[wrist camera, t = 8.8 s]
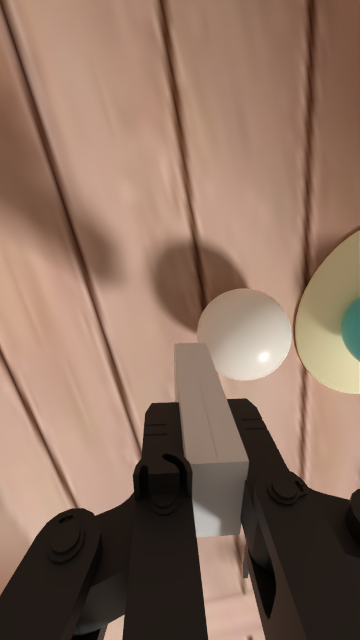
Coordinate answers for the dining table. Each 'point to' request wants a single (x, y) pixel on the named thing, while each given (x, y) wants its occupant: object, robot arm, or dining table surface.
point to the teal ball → (352, 329)
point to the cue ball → (245, 333)
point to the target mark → (330, 318)
